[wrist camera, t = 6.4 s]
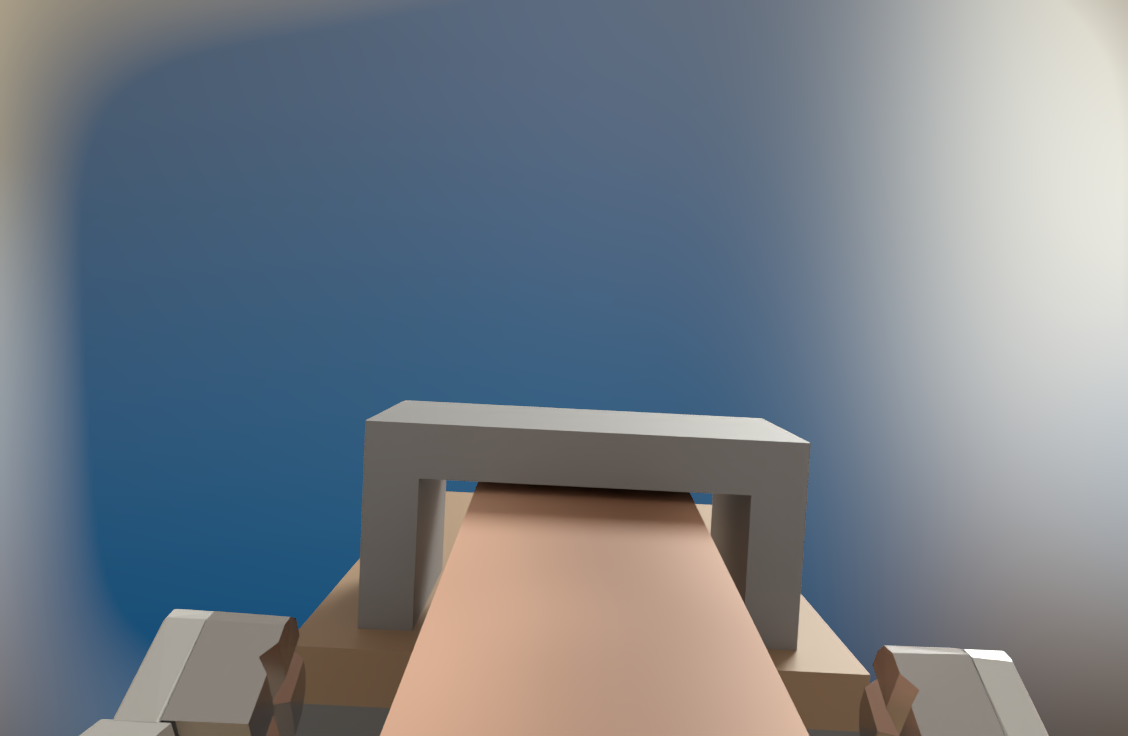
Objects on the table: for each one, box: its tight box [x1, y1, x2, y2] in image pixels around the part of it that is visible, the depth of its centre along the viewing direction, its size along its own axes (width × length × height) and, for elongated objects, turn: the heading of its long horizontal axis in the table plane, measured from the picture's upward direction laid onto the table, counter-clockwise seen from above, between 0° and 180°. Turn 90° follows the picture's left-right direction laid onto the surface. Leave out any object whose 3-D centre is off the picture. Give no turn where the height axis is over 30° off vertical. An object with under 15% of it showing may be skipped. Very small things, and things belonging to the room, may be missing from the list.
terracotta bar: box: [380, 482, 809, 736], centre depth 13 cm, size 4×12×2 cm, turn 0°
